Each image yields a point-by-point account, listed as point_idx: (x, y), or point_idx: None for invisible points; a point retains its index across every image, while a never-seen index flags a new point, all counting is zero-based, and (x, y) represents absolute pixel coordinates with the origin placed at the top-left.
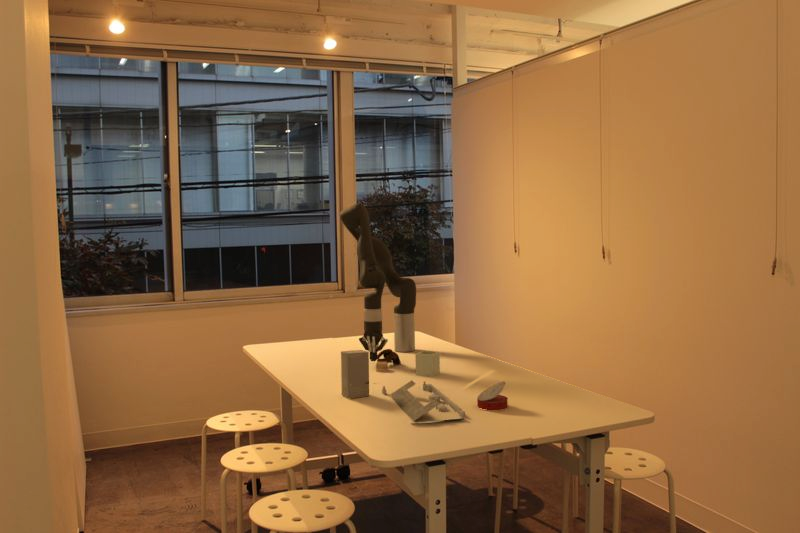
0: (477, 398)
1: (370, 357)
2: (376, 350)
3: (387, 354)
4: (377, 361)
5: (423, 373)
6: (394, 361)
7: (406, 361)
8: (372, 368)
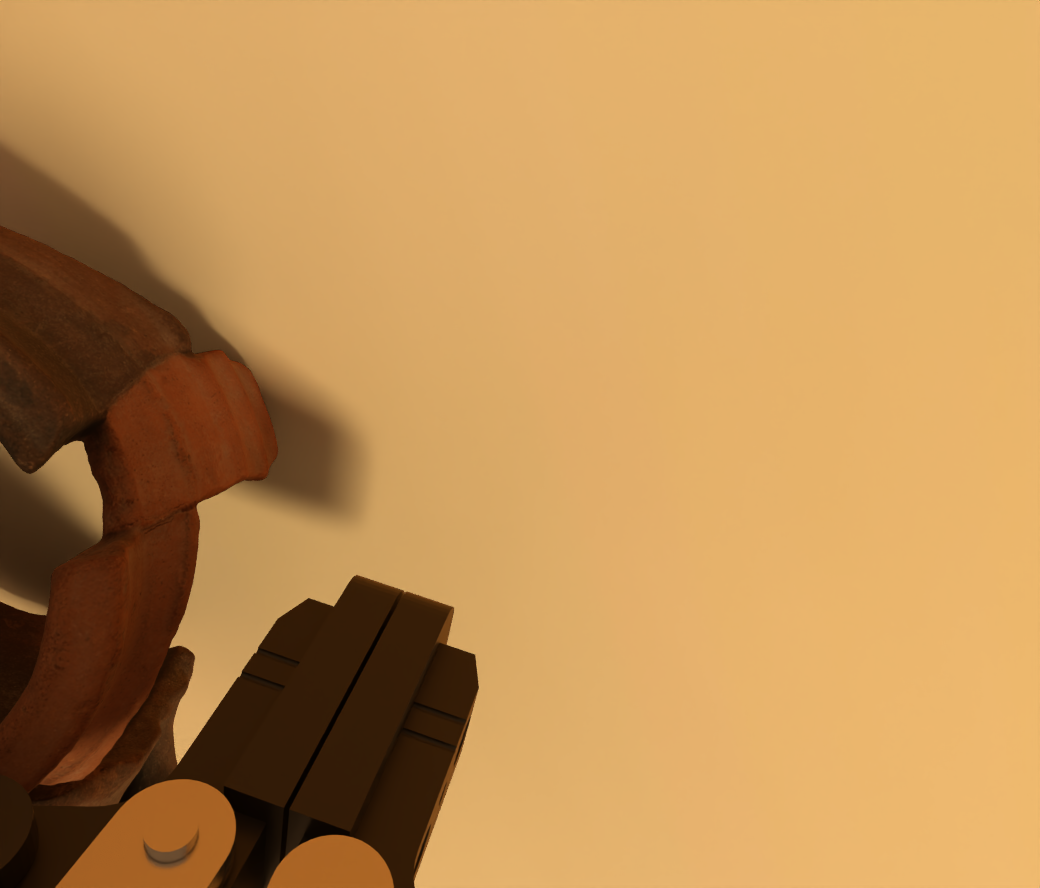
0: None
1: (442, 703)
2: (27, 824)
3: None
4: (158, 429)
5: None
6: (15, 650)
7: None
8: (354, 250)
